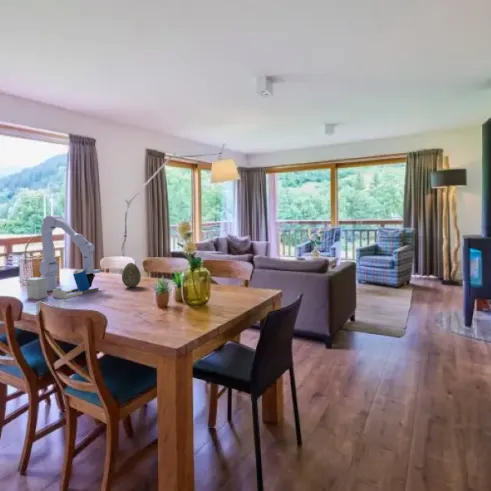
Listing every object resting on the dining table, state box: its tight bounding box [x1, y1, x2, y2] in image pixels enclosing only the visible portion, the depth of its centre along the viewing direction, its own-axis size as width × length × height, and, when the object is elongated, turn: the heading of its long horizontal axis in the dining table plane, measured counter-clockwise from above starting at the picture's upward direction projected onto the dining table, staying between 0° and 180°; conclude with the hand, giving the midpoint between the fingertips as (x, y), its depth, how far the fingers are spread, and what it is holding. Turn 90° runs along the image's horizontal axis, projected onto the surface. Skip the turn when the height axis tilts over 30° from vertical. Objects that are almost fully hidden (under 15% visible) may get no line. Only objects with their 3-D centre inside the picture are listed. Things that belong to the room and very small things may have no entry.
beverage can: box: [72, 268, 91, 292], centre depth 209 cm, size 6×6×12 cm
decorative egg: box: [121, 262, 142, 289], centre depth 220 cm, size 11×11×15 cm
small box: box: [25, 276, 48, 300], centre depth 197 cm, size 8×6×10 cm
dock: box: [52, 287, 99, 300], centre depth 206 cm, size 10×22×5 cm, turn 152°
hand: (89, 286), depth 214 cm, fingers closed
